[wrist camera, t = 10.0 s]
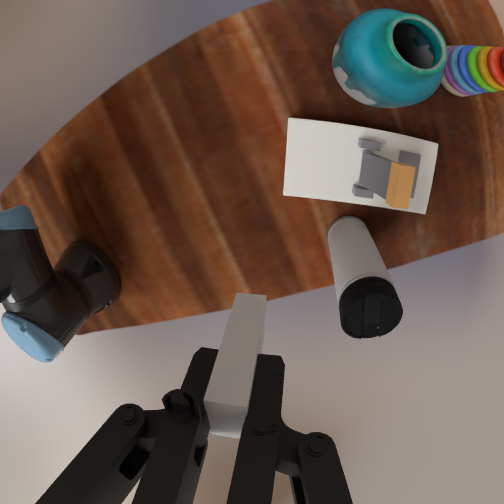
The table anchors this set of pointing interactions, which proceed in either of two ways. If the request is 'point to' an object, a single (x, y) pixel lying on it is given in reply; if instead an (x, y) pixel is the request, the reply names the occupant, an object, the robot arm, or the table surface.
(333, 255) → the travel mug
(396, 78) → the vase
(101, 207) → the table surface
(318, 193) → the switch box
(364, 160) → the lever
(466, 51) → the stacking toy
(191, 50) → the table surface
